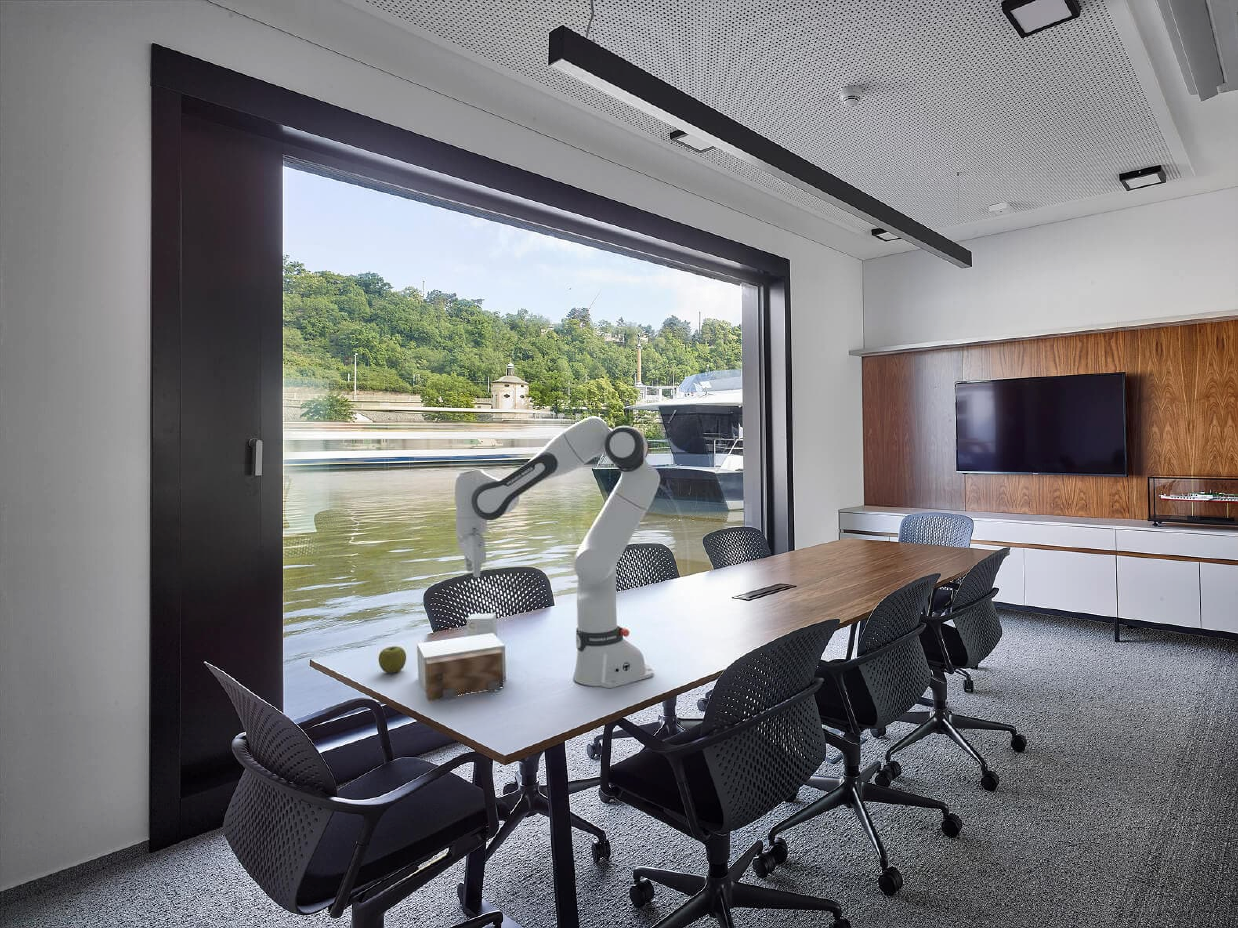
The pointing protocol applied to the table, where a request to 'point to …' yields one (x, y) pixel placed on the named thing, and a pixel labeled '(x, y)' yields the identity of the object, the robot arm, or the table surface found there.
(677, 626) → the table surface
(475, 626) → the small box
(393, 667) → the apple
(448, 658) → the door
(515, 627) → the table surface
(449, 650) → the cabinet
